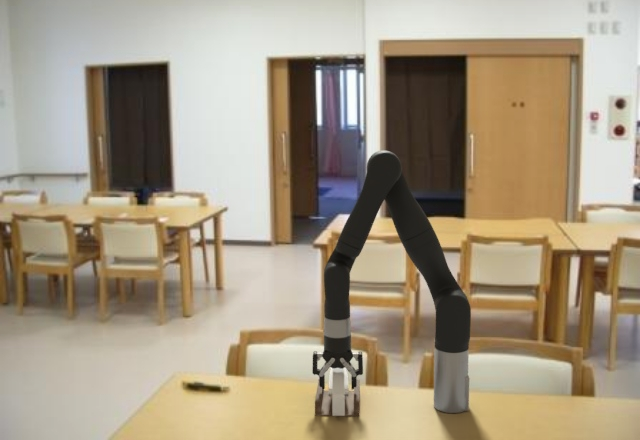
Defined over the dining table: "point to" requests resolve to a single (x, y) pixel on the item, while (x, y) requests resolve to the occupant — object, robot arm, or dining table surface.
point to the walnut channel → (325, 402)
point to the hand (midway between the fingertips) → (337, 388)
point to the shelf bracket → (338, 390)
